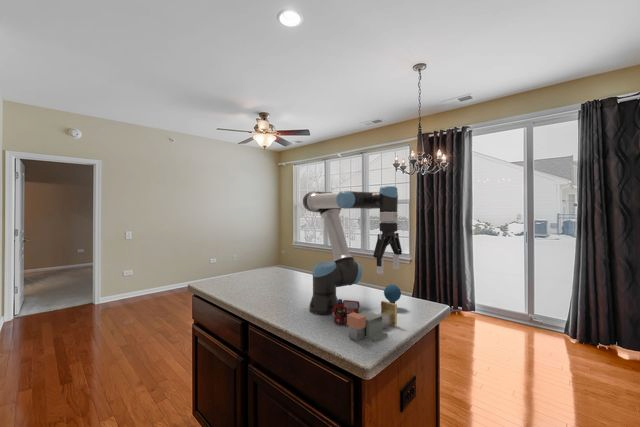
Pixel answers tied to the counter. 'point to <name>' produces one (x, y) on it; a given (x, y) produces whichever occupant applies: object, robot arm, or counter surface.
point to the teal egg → (392, 293)
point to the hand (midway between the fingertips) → (388, 271)
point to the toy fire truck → (344, 310)
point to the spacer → (356, 320)
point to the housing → (373, 326)
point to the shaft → (387, 320)
